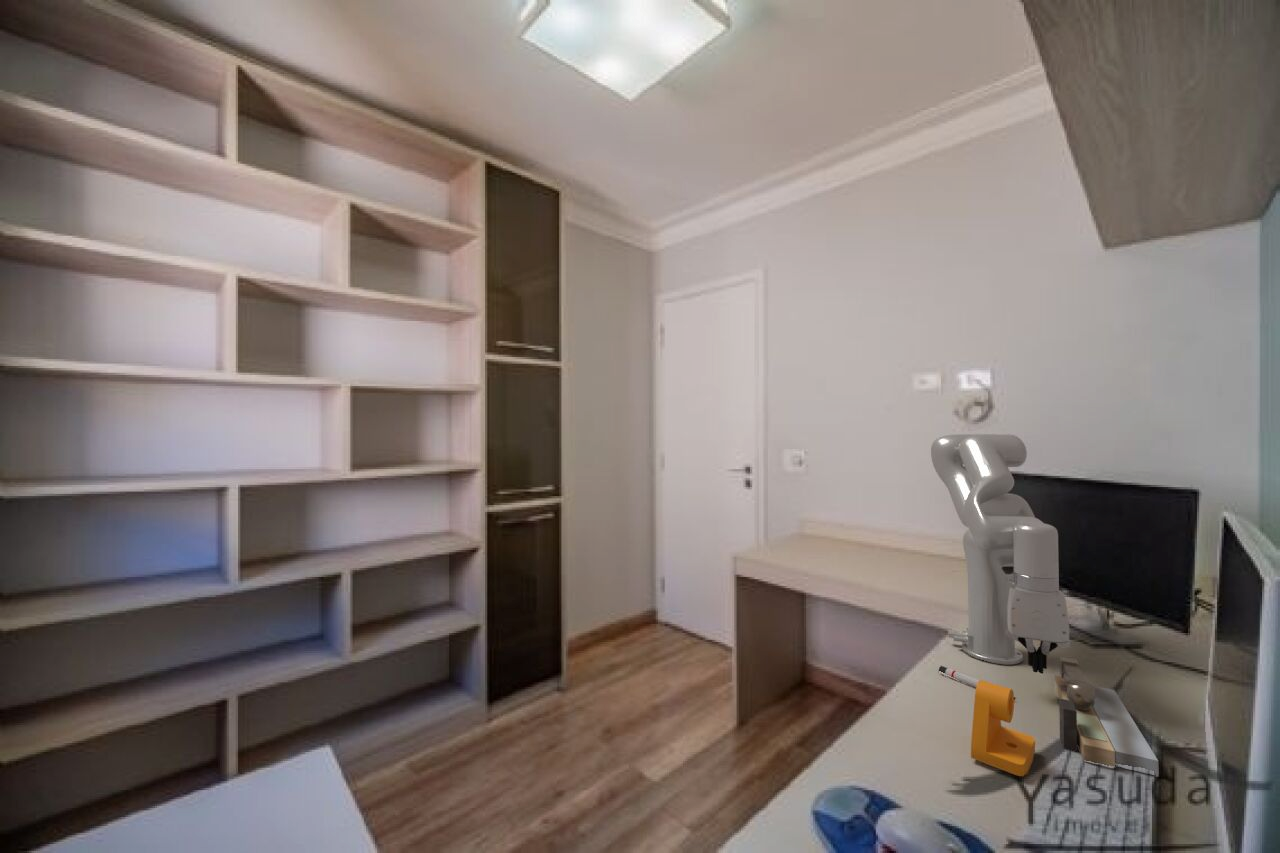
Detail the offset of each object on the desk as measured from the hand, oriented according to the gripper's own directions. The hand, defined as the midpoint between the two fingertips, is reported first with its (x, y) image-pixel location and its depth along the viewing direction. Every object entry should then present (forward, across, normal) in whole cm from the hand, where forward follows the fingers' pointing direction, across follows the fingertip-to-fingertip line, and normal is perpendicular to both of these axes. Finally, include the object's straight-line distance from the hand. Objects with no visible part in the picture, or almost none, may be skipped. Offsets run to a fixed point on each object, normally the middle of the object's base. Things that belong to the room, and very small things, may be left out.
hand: (1037, 670), depth 109 cm
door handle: (+1, +6, -3) cm, 7 cm away
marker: (+6, -11, -1) cm, 13 cm away
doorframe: (+6, +7, -8) cm, 12 cm away
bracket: (+6, -8, -27) cm, 29 cm away
